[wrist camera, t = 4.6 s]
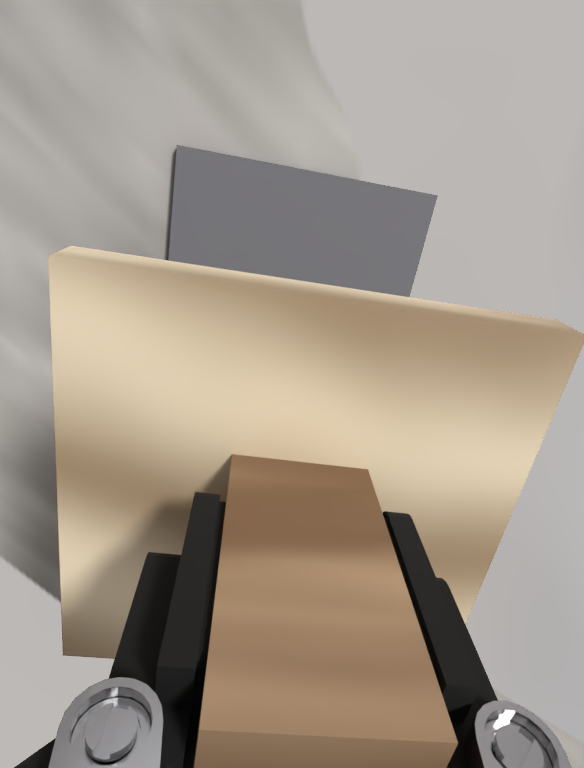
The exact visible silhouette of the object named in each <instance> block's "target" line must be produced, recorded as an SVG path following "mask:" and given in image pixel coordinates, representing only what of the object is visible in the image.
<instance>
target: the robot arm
mask: <svg viewBox="0 0 584 768" xmlns="http://www.w3.org/2000/svg"><path fill="white" fill-rule="evenodd" d="M219 500H220V494H212V493H202V492H195V494H194V498H193V503H192V508H191V512H190V517H189V521H188V526H187V530H186V535H185V540H184V544H183V549H182V553H181V555H177V554H166V553H155V552H148V554H147V556H146V559H145V562H144V565H143V568H142V572H141V575H140V578H139V581H138V585H137V588H136V591H135V595H134V598H133V601H132V604H131V608H130V611H129V614H128V617H127V621H126V624H125V627H124V630H123V634H122V637H121V640H120V643H119V647H118V650H117V653H116V657H115V660H114V663H113V666H112V670H111V673H110V676H109V679H106V680H103V681H101V682H99V683H96V684H94V685H93V686H90V687H88V688H87V689H86V690H85V691H83V692H82V693H81V694H80V695H79V696H77V697H76V698H75V699H74V701H73V702H72V703H71V705H70V706H69V707H68V709H67V710H66V711H65V713H64V716H63V718H62V720H61V723H60V725H59V728H58V731H57V736H56V738H55V739H54V740H52V741H51V742H50V743H48V744H47V745H46V746H44V747H43V748H41V749H40V750H38V751H37V752H35V753H34V754H33V755H31V756H30V757H28V758H27V759H26V760H24V761H23V762H21V763H20V764H19V765H17V766H16V767H14V768H193V763H194V756H195V748H196V741H197V734H198V726H199V719H200V711H201V704H202V696H203V689H204V681H205V674H206V666H207V658H208V650H209V642H210V633H211V625H212V617H213V608H214V600H215V592H216V583H217V575H218V567H219V559H220V550H221V542H222V534H223V525H224V517H225V509H226V502H223V501H219ZM383 516H384V519H385V523H386V526H387V529H388V532H389V535H390V538H391V541H392V544H393V547H394V550H395V553H396V556H397V559H398V562H399V565H400V568H401V571H402V574H403V577H404V580H405V583H406V586H407V589H408V592H409V595H410V598H411V602H412V605H413V608H414V611H415V614H416V617H417V620H418V623H419V626H420V629H421V632H422V635H423V638H424V641H425V644H426V647H427V650H428V653H429V656H430V659H431V662H432V665H433V668H434V671H435V674H436V677H437V681H438V684H439V687H440V690H441V693H442V696H443V699H444V702H445V705H446V708H447V711H448V714H449V717H450V720H451V723H452V726H453V729H454V732H455V735H456V738H457V741H458V745H457V747H456V749H455V751H454V753H453V755H452V757H451V759H450V761H449V763H448V765H447V768H572V767H571V765H570V762H569V760H568V757H567V755H566V753H565V751H564V749H563V747H562V745H561V743H560V742H559V740H558V738H557V737H556V735H555V734H554V733H553V732H552V731H551V729H550V728H549V727H548V726H547V724H545V723H544V722H543V721H542V720H541V719H540V718H538V717H537V716H536V715H535V714H534V713H532V712H531V711H529V710H527V709H525V708H524V707H522V706H520V705H518V704H514V703H511V702H508V701H498V700H497V697H496V695H495V693H494V690H493V688H492V686H491V684H490V681H489V679H488V676H487V674H486V672H485V669H484V667H483V665H482V663H481V660H480V658H479V655H478V653H477V651H476V648H475V646H474V644H473V642H472V639H471V637H470V634H469V632H468V630H467V628H466V625H465V623H464V620H463V618H462V616H461V613H460V611H459V609H458V606H457V604H456V602H455V599H454V597H453V595H452V592H451V590H450V588H449V586H448V584H447V582H446V581H445V580H444V579H442V578H436V576H435V573H434V571H433V569H432V566H431V564H430V561H429V559H428V556H427V554H426V551H425V549H424V546H423V544H422V542H421V539H420V537H419V534H418V532H417V529H416V527H415V524H414V522H413V519H412V517H411V516H410V515H409V514H407V513H397V512H388V511H385V512H383Z"/></svg>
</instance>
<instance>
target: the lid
mask: <svg viewBox="0 0 584 768" xmlns="http://www.w3.org/2000/svg"><path fill="white" fill-rule="evenodd" d="M48 260H49V287H50V315H51V342H52V369H53V396H54V423H55V451H56V478H57V505H58V532H59V559H60V587H61V614H62V640H63V655H67V656H82V657H97V658H112V659H115V657H116V653H117V650H118V647H119V643H120V640H121V637H122V634H123V630H124V627H125V624H126V621H127V617H128V614H129V611H130V608H131V604H132V601H133V598H134V595H135V591H136V588H137V585H138V581H139V578H140V575H141V572H142V568H143V565H144V562H145V559H146V556H147V554H148V552H155V553H166V554H177V555H181V553H182V549H183V544H184V540H185V535H186V530H187V526H188V521H189V517H190V512H191V508H192V503H193V498H194V494H195V492H202V493H212V494H220V500H219V501H223V502H226V509H225V517H224V525H223V534H222V542H221V550H220V559H219V567H218V575H217V583H216V592H215V600H214V608H213V617H212V625H211V633H210V642H209V650H208V658H207V666H206V674H205V681H204V689H203V696H202V704H201V711H200V719H199V726H198V734H197V741H196V748H195V756H194V763H193V768H447V765H448V763H449V761H450V759H451V757H452V755H453V753H454V751H455V749H456V747H457V745H458V741H457V738H456V735H455V732H454V729H453V726H452V723H451V720H450V717H449V714H448V711H447V708H446V705H445V702H444V699H443V696H442V693H441V690H440V687H439V684H438V681H437V677H436V674H435V671H434V668H433V665H432V662H431V659H430V656H429V653H428V650H427V647H426V644H425V641H424V638H423V635H422V632H421V629H420V626H419V623H418V620H417V617H416V614H415V611H414V608H413V605H412V602H411V598H410V595H409V592H408V589H407V586H406V583H405V580H404V577H403V574H402V571H401V568H400V565H399V562H398V559H397V556H396V553H395V550H394V547H393V544H392V541H391V538H390V535H389V532H388V529H387V526H386V523H385V519H384V516H383V512H385V511H388V512H397V513H407V514H409V515H410V516H411V517H412V519H413V522H414V524H415V527H416V529H417V532H418V534H419V537H420V539H421V542H422V544H423V546H424V549H425V551H426V554H427V556H428V559H429V561H430V564H431V566H432V569H433V571H434V573H435V576H436V578H442V579H444V580H445V581H446V582H447V584H448V586H449V588H450V590H451V592H452V595H453V597H454V599H455V602H456V604H457V606H458V609H459V611H460V613H461V616H462V618H463V620H464V623H466V621H467V619H468V616H469V614H470V611H471V609H472V607H473V604H474V602H475V599H476V597H477V595H478V592H479V590H480V587H481V585H482V583H483V581H484V578H485V576H486V574H487V571H488V569H489V566H490V564H491V562H492V559H493V557H494V554H495V552H496V550H497V547H498V545H499V543H500V540H501V538H502V535H503V533H504V531H505V528H506V526H507V524H508V521H509V519H510V517H511V514H512V512H513V510H514V507H515V505H516V502H517V500H518V498H519V495H520V493H521V491H522V488H523V486H524V484H525V481H526V479H527V476H528V474H529V471H530V469H531V467H532V465H533V462H534V460H535V457H536V455H537V453H538V450H539V448H540V446H541V443H542V441H543V439H544V436H545V434H546V431H547V429H548V426H549V424H550V422H551V420H552V417H553V415H554V412H555V410H556V408H557V405H558V403H559V401H560V398H561V396H562V393H563V391H564V389H565V386H566V384H567V382H568V379H569V377H570V375H571V372H572V370H573V367H574V365H575V363H576V360H577V358H578V355H579V353H580V351H581V349H582V346H583V344H584V334H582V333H580V332H578V331H577V330H575V329H573V328H571V327H569V326H567V325H565V324H564V323H562V322H560V321H558V320H556V319H549V318H542V317H536V316H529V315H523V314H516V313H510V312H503V311H497V310H490V309H483V308H477V307H470V306H463V305H457V304H450V303H444V302H438V301H431V300H424V299H417V298H411V297H405V296H398V295H392V294H385V293H378V292H372V291H365V290H359V289H352V288H345V287H339V286H332V285H326V284H319V283H313V282H306V281H299V280H293V279H286V278H280V277H273V276H267V275H260V274H253V273H247V272H240V271H234V270H227V269H221V268H214V267H207V266H201V265H194V264H188V263H181V262H175V261H168V260H161V259H155V258H148V257H142V256H135V255H129V254H122V253H115V252H109V251H102V250H96V249H89V248H83V247H76V246H70V247H67V248H65V249H63V250H60V251H58V252H56V253H53V254H51V255H49V256H48Z"/></svg>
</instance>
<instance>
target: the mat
mask: <svg viewBox="0 0 584 768" xmlns="http://www.w3.org/2000/svg"><path fill="white" fill-rule="evenodd" d="M436 199H437V196H436V195H431V194H426V193H421V192H416V191H411V190H406V189H400V188H395V187H390V186H385V185H379V184H374V183H369V182H364V181H359V180H354V179H349V178H344V177H339V176H333V175H328V174H323V173H318V172H313V171H308V170H303V169H297V168H292V167H287V166H282V165H277V164H272V163H266V162H261V161H256V160H251V159H246V158H241V157H236V156H230V155H225V154H220V153H215V152H210V151H205V150H199V149H194V148H189V147H184V146H179V145H177V150H176V163H175V177H174V190H173V204H172V217H171V231H170V244H169V258H168V261H175V262H181V263H188V264H194V265H201V266H207V267H214V268H221V269H227V270H234V271H240V272H247V273H253V274H260V275H267V276H273V277H280V278H286V279H293V280H299V281H306V282H313V283H319V284H326V285H332V286H339V287H345V288H352V289H359V290H365V291H372V292H378V293H385V294H392V295H398V296H405V297H409V296H410V292H411V289H412V285H413V282H414V278H415V275H416V271H417V267H418V264H419V260H420V256H421V253H422V249H423V246H424V242H425V239H426V235H427V231H428V227H429V224H430V221H431V217H432V214H433V210H434V206H435V203H436Z"/></svg>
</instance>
